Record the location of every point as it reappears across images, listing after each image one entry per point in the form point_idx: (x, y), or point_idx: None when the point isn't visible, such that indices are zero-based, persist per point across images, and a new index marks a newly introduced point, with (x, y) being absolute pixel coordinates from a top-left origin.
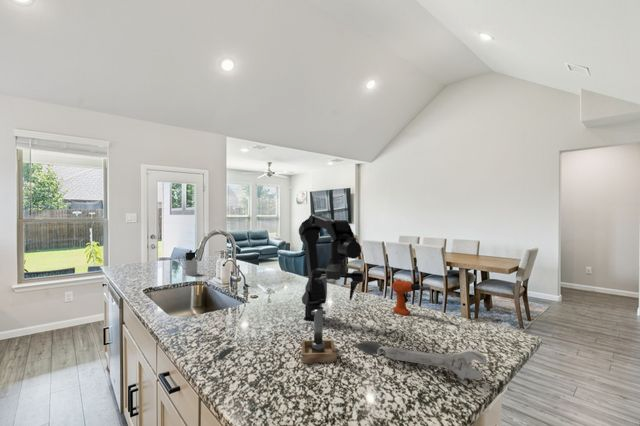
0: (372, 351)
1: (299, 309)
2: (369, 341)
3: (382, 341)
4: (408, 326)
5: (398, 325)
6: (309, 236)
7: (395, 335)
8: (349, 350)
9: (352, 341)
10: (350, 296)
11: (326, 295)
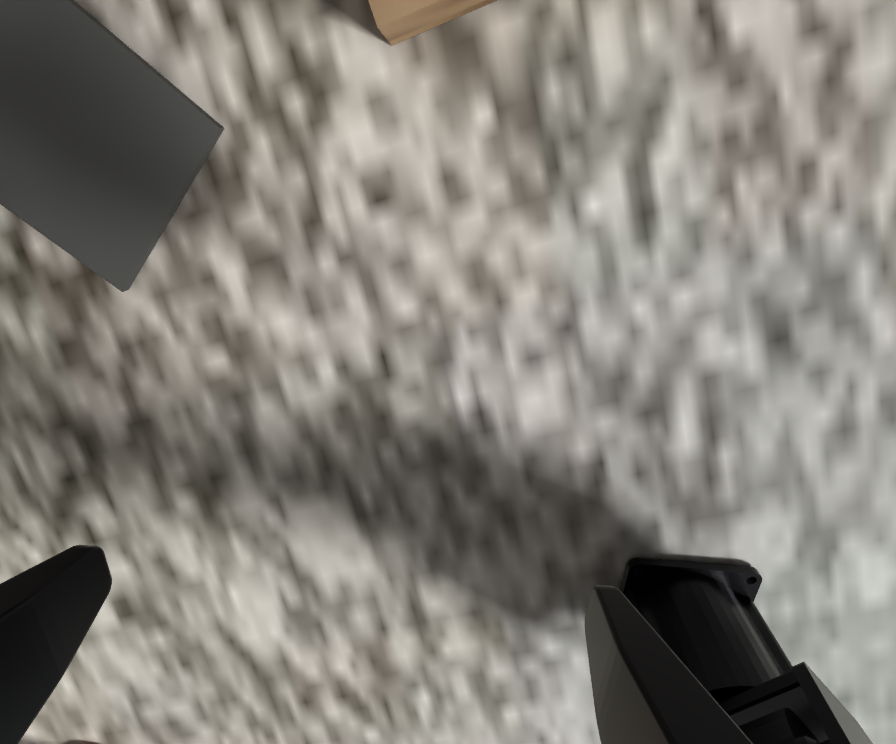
0: (25, 52)
1: None
2: (129, 267)
3: (58, 320)
4: None
5: None
6: None
7: (21, 450)
8: (232, 38)
9: (269, 252)
10: (11, 596)
11: (592, 652)
